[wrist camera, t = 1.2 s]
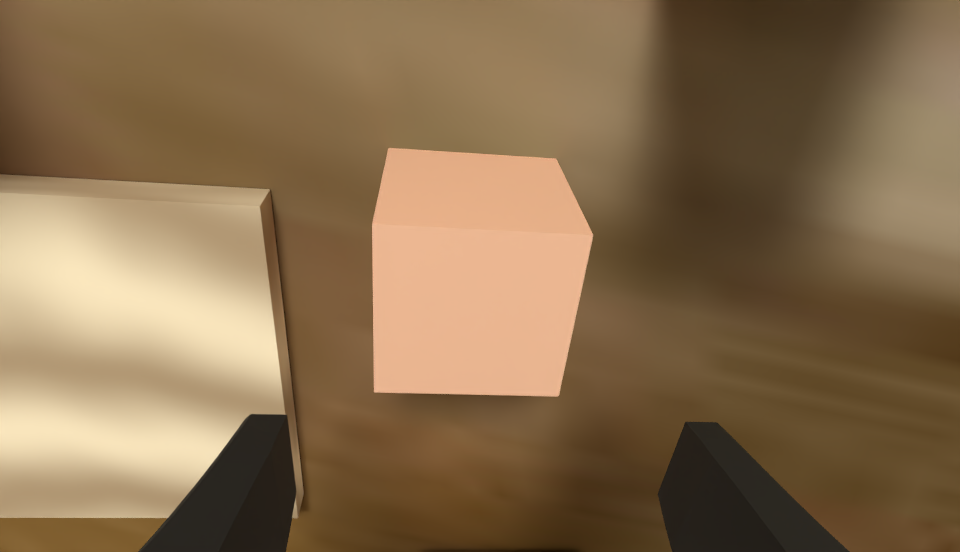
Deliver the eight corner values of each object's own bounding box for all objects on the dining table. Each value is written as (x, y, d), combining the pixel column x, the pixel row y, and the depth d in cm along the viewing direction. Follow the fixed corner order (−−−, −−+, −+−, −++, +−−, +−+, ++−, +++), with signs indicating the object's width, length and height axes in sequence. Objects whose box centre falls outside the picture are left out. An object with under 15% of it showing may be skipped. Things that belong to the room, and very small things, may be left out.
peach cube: (533, 294, 20) (558, 396, 16) (388, 289, 20) (373, 392, 15) (555, 157, 17) (593, 234, 13) (388, 147, 17) (372, 223, 13)
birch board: (303, 493, 25) (297, 518, 24) (1, 491, 23) (-19, 517, 22) (270, 189, 17) (259, 206, 16) (-172, 164, 16) (-213, 181, 15)
